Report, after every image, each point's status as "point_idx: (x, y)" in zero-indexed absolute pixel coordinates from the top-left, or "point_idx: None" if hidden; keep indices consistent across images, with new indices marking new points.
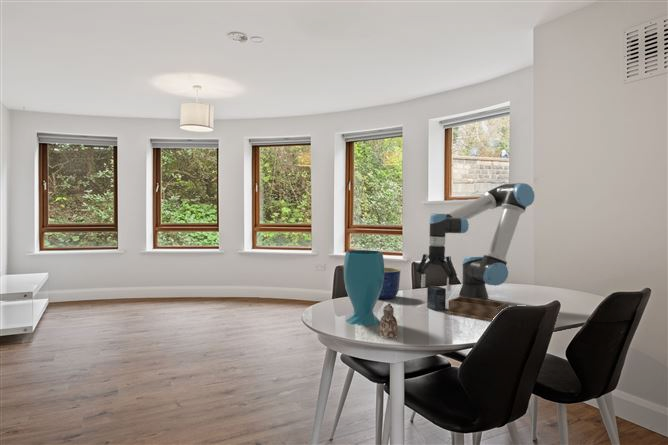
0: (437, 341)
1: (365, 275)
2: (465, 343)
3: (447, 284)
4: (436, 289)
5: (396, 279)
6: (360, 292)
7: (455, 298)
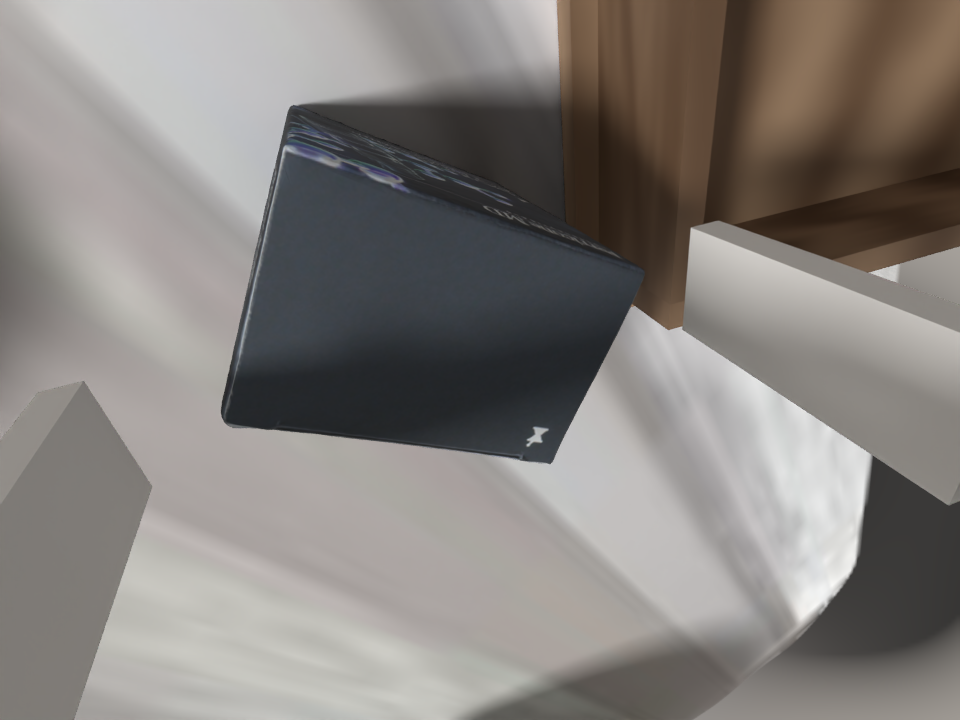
0: (750, 650)
1: None
2: (837, 589)
3: (793, 391)
4: (550, 457)
5: None
6: None
7: (697, 137)
